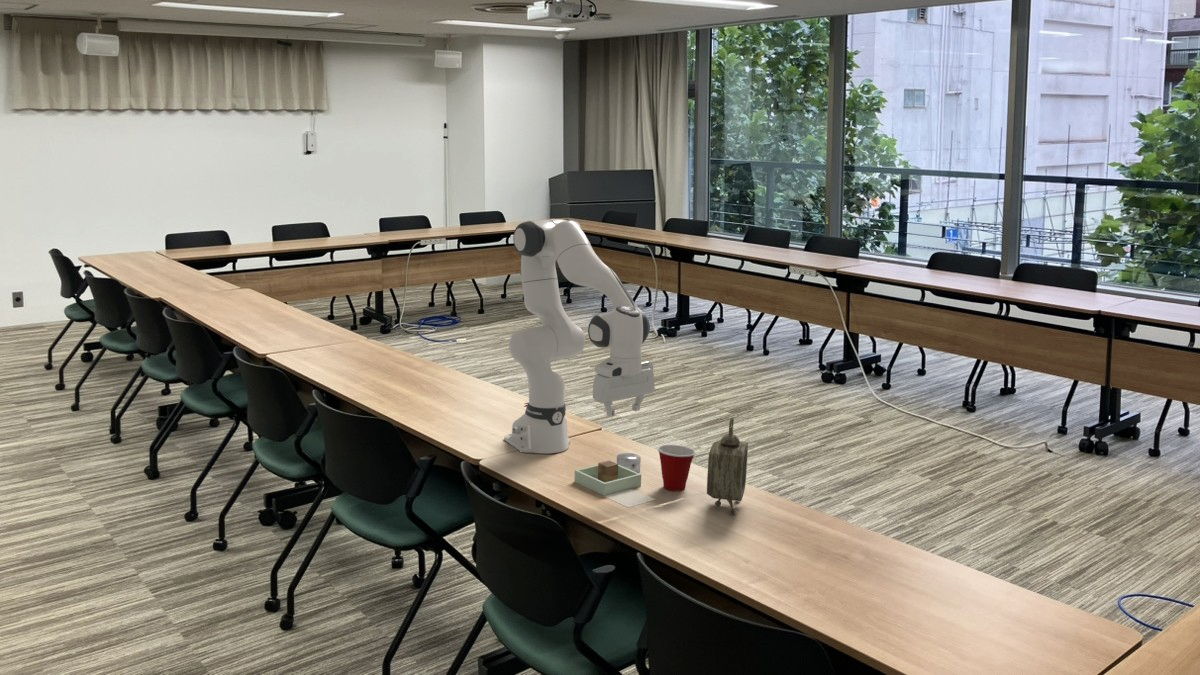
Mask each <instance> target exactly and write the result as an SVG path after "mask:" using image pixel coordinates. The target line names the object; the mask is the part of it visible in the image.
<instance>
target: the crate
mask: <svg viewBox="0 0 1200 675" xmlns="http://www.w3.org/2000/svg"><path fill="white" fill-rule="evenodd" d="M573 482H574V483H577V484H579V485H581V486H583V487H584V488H587V489H588V490H591V491H593V492H595V493H598V494H599V495H602V496H607V495H610V494H614V493H618V492H622V491H625V490H629V489H635V488H638V487H641V486H642V474H641V473H637V472H634V471H632V470H630V469H627V468H625V467H623V466H620V465H618V479H617V480H613V481H609V482H602V481H600V480H598V464H596V465H591V466H587V467H582V468H579V469H574V481H573Z"/></svg>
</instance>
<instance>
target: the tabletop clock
mask: <svg viewBox="0 0 1200 675" xmlns="http://www.w3.org/2000/svg"><path fill="white" fill-rule="evenodd" d="M734 422H735V420H734V417H730V419H729V422H728V424H729V425H728V433H727V434H725V435H723V436H722V437H721V439H719V440H716V441H714V442H713V443H712V445H711V446H710V449H709V452H708V453H709V454H708V460H707V473H706V474H707V475H706V476H707V477H706V481H707V482H706V494H707V495H708V496H710V497H711V498H712V499H717V500H716V501H715V503H714V505H715V506H716V507H721V505H722V500H725V501H727V502H728V504H729V506H730V511H729V513H730V514H731V516H735V515H736V514H737V509H735V508H734V506H733V505H734V504H733V502H734V501H735V502H742V500H743V499H744V498H743V497H744V494H745V490H746V481H747V471H748V470H747V469H748V468H747V467H748V455H749V454H748V453H749V452H748V450H749V448H748V447H749V442H748V441H740V439H739V437H738V436H737V435H736V434H734Z"/></svg>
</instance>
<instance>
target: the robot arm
mask: <svg viewBox="0 0 1200 675" xmlns="http://www.w3.org/2000/svg"><path fill="white" fill-rule="evenodd" d="M512 239H513V245H514V248H515V250H516V251H517V252H518V254H520V255H521V261H520V264H521V265H520V276H521V286H522V293H523V301H524V306H525V308H526V310H527V311H528V312H530V313H531V314H533V315H535V316H536V317H538V319H539V321H540V322H541V325H540V326H531V327H526V328H523V329H519V330H518V331H514V332H513V334H512V335H511V336H510V338H509V342H508V350H509V354H510V356H511V357H512V358H513V360H514V361H515V362H516V363H518V364H519V365H520V366H521V367H522V368H523V370H524V372H525V374H526V376H527V381H528V402H524V405H523V407H525V411H524V412H525V413H523V414H522V415H520V417H518V418H517V419H516V420H514V421H513V422H512V426H511V433H509V434H507V435H505V436H504V439H503V440H504V441H506V443H509V445H511V446H512V447H513V448H514V449H517V450H518V451H519V452H521V453H526V454H527V453H531V454H533V453H535V454H556V453H561V452H564V451H567V450H568V449H569V444H571V438H569V434H568V419H567V418H566V417H565V416H566V411H567V407H566V403H565V381H564V378H563V376H561V375H560V374H559V373H557V372H556V371H553V370H552V366H551V365H552V364H551V362H552V361H558V360H559V361H560V360H566V359H570V358H572V357H576V356H577V355H580V354H582V352H583V351H584V349H585V346H586V336H585V333H584V331H583V329H582V328H581V327H580V326H579V325H577V324H576V323H575V322H573V321H572V319H570V317H569V316H568V314H567V312H566V311H565V309H564V306H563V303H562V299H561V294H560V288H559V280H558V274H557V269H556V268H557V267H556V262H557V264H558V267H559V269H560V271H561V273H562V275H563V276H564V278H566V280H568V282H570V283H572V284H574V285H577V286H581V287H587V288H590V289H593V290H597V291H599V292H601V293H602V294H603V295H604V296H606V298H608V300H609V302H610V304H611V305H612V307H613V308H614V309H613V310H611V311H609V312H604V313H600V314H599V313H598V314H596V315H594V316H593V317H592V318H591V319H590V321H589V324H588V329H587V334H588V339H589V340H590V342H591V343H592V344H593V345H594V346H595V347H598V348H601V349H605V348H608V349H610V353H609V357H608V358H606V359H605V360H604V361H602V362H600V363H598V364H597V365H596V366H594V372H595V373H596V375H595V376H594V379H593V385H592V399H593V400H594V402H596V403H600V404H603V405H604V407H605V409H606V416H607V417H610V418H611V417H614V416H615V409H613V408H612V405H613V402H614V401H615V402H617V401H620V400H625V399H630V398H635V401H634V402H633V403H632V404H631V410H632V411H634V412H638V411H640V409H641V404H642V402H643V401H644V399H645V396H646V395H651V394H653V392H654V391H655V374H654V365H653V363H652V362H650V361H647V360H646V361H643V352H642V345H643V343H645V342H646V340H647V338H648V337H649V334H650V332H651V331H650V330H651V325H650V321H649V320H648V317H647V316H646V314H645V313H644V311H642V310H641V309H640V308H639V307H638V305H637V304H636V303H635V301H634V300H633V298H632V296H631V295H630V293H629V292H628V290H627V289H626V287H625V286H624V284H623V283H622V281H621V279H620V278H619V277H618V275H617V274H616V272H615V271H614V270H613V268H611V267H610V266H608V265H606V264H605V263H604V262H603V260H601V258H600V257H599V255H597V254H596V252H595V250H594V249H593V247H592V245H591V242H590V241H589V239H588V237H587V236H586V234H585V232H584V230H583V228H582V226H581V225H580V223H579V222H578V221H577V220H574V219H570V218H564V219H562V218H546V219H540V220H533V221H531V220H527V221H524V222H521V223H519V224H517V226H516V227H515V230H514V232H513V238H512ZM642 361H643V362H642Z"/></svg>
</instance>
